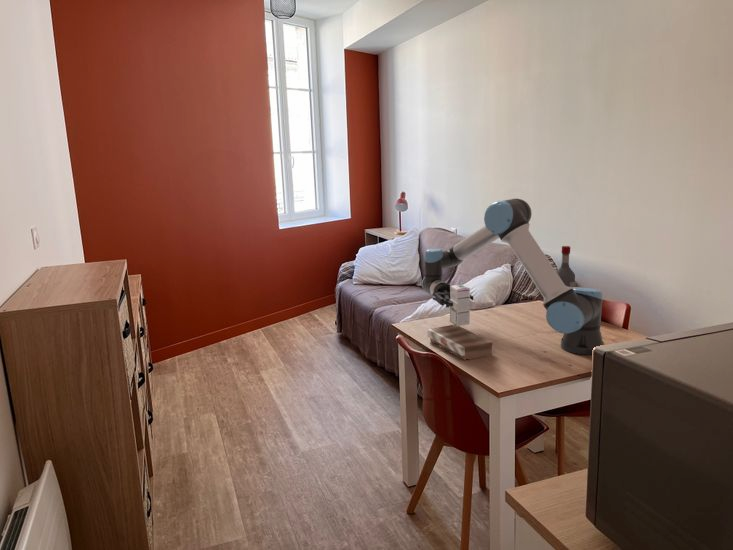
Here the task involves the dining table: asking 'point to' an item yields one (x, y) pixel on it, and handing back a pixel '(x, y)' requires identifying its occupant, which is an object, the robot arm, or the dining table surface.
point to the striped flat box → (461, 341)
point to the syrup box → (460, 305)
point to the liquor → (566, 268)
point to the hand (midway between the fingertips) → (465, 306)
